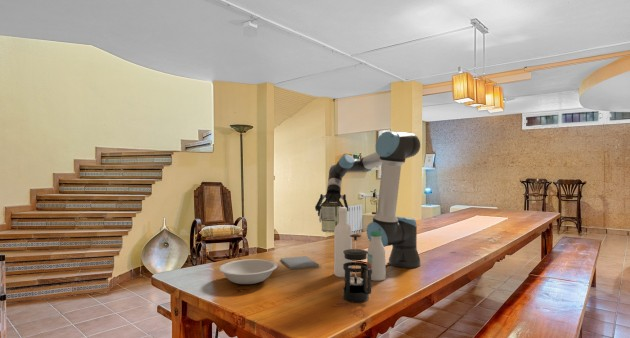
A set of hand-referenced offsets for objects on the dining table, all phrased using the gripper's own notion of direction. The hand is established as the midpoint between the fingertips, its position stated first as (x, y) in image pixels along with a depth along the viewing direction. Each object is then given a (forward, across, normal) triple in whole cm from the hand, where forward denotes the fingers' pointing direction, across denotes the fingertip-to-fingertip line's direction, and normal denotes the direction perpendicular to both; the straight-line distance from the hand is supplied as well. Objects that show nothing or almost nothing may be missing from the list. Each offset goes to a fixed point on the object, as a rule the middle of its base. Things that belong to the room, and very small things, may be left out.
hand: (330, 220), depth 179 cm
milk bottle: (+31, -23, +1) cm, 39 cm away
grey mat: (+18, +16, -12) cm, 26 cm away
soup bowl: (+41, +30, +11) cm, 52 cm away
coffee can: (+2, 0, -6) cm, 6 cm away
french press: (+49, -16, +19) cm, 55 cm away
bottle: (+29, -8, -1) cm, 30 cm away
